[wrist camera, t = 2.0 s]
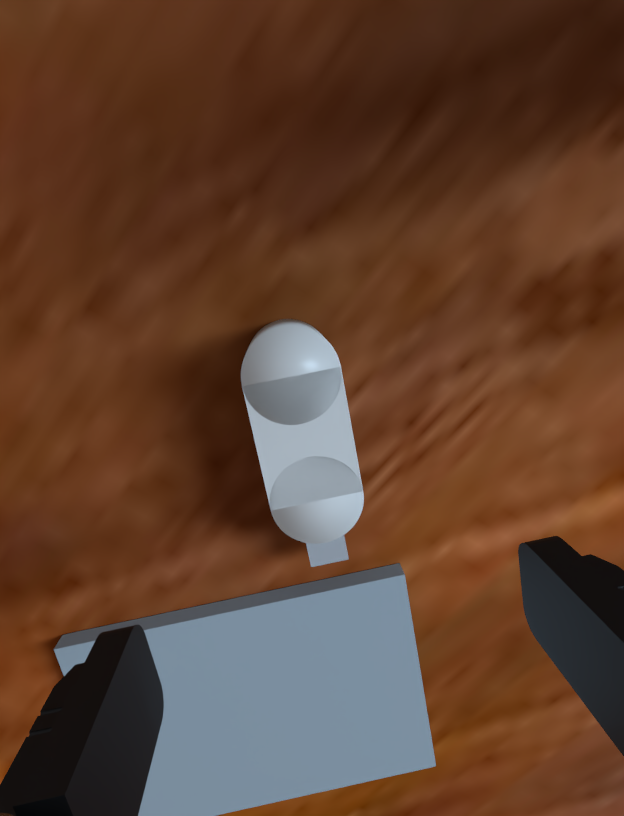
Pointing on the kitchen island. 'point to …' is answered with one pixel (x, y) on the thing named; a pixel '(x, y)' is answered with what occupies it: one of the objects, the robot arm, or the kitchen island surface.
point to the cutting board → (281, 693)
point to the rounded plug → (303, 436)
